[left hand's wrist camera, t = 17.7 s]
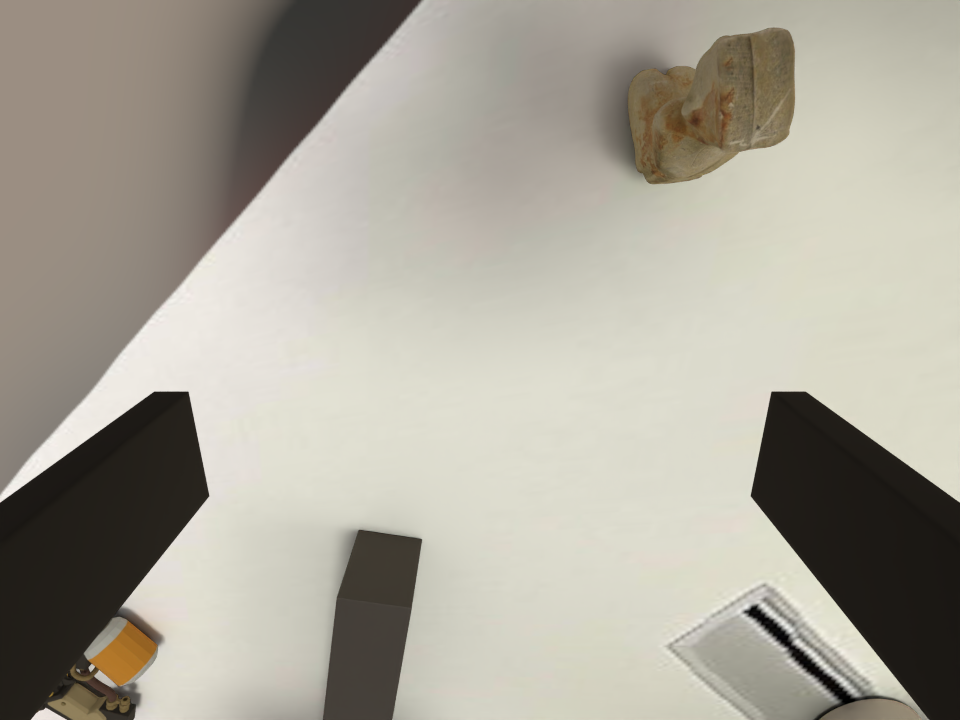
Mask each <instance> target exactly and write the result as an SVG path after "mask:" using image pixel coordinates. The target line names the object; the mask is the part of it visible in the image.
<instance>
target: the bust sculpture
mask: <svg viewBox="0 0 960 720" xmlns="http://www.w3.org/2000/svg"><path fill="white" fill-rule="evenodd" d="M819 720H922V719H921V718H920V717H919V715H918V714H917V713H916V712H915V711H914V710H913V709H912V708H910V707H909V706H907V705H905V704H903V703H900V702H897V701H893V700H887V699H867V700H860V701H856V702H852V703H849V704H846V705H843V706H841V707H838V708H836V709H834V710H832V711H831V712H829V713H827V714H826V715H824V716H823V717H822V718H821V719H819Z"/></svg>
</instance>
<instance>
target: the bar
mask: <svg viewBox="0 0 960 720" xmlns="http://www.w3.org/2000/svg"><path fill="white" fill-rule="evenodd" d="M421 543H422V539H416V538H409V537H403V536H396V535H389V534H382V533H375V532H369V531H362V530H359V531H358V534H357V538H356V541H355V544H354V547H353V550H352V553H351V556H350V559H349V562H348V565H347V568H346V571H345V574H344V577H343V581H342V584H341V587H340V590H339V593H338V596H337V601H336V610H335V619H334V628H333V637H332V645H331V654H330V663H329V672H328V681H327V689H326V698H325V707H324V716H323V720H392V717H393V712H394V706H395V700H396V694H397V689H398V683H399V677H400V672H401V666H402V660H403V654H404V649H405V643H406V637H407V632H408V626H409V620H410V614H411V609H412V602H413V596H414V589H415V582H416V576H417V569H418V563H419V556H420V550H421Z"/></svg>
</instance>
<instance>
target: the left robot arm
mask: <svg viewBox="0 0 960 720" xmlns="http://www.w3.org/2000/svg"><path fill="white" fill-rule="evenodd" d="M208 497H209V492H208V487H207V482H206V477H205V472H204V467H203V462H202V457H201V452H200V447H199V442H198V437H197V432H196V427H195V422H194V417H193V412H192V407H191V402H190V397H189V392H153V393H152V394H150V395H149V396H148V397H146V398H145V399H144V400H142V401H141V402H139V403H138V404H137V405H135V406H134V407H132V408H131V409H130V410H128V411H127V412H125V413H124V414H123V415H121V416H120V417H119V418H117V419H116V420H114V421H113V422H112V423H110V424H109V425H107V426H106V427H105V428H103V429H102V430H100V431H99V432H98V433H96V434H95V435H94V436H92V437H91V438H89V439H88V440H87V441H85V442H84V443H82V444H81V445H80V446H78V447H77V448H75V449H74V450H73V451H71V452H70V453H69V454H67V455H66V456H64V457H63V458H62V459H60V460H59V461H57V462H56V463H55V464H53V465H52V466H51V467H49V468H48V469H46V470H45V471H44V472H42V473H41V474H39V475H38V476H37V477H35V478H34V479H32V480H31V481H30V482H28V483H27V484H26V485H24V486H23V487H21V488H20V489H19V490H17V491H16V492H14V493H13V494H12V495H10V496H9V497H7V498H6V499H5V500H3V501H2V502H1V503H0V720H31V719H32V717H33V716H34V715H35V714H36V712H37V711H38V710H39V709H40V707H41V706H42V705H43V704H44V702H45V701H46V700H47V699H48V697H49V696H50V695H51V694H52V692H53V691H54V690H55V689H56V687H57V686H58V685H59V684H60V682H61V681H62V680H63V679H64V677H65V676H66V675H67V674H68V672H69V671H70V670H71V669H72V667H73V666H74V665H75V664H76V662H77V661H78V660H79V659H80V657H81V656H82V655H83V654H84V652H85V651H86V650H87V649H88V647H89V646H90V645H91V644H92V642H93V641H94V640H95V639H96V637H97V636H98V635H99V634H100V632H101V631H102V630H103V629H104V627H105V626H106V625H107V624H108V622H109V621H110V620H111V619H112V617H113V616H114V615H115V614H116V612H117V611H118V610H119V609H120V607H121V606H122V605H123V604H124V602H125V601H126V600H127V599H128V597H129V596H130V595H131V594H132V592H133V591H134V590H135V589H136V587H137V586H138V585H139V583H140V582H141V581H142V580H143V578H144V577H145V576H146V575H147V573H148V572H149V571H150V570H151V568H152V567H153V566H154V565H155V563H156V562H157V561H158V560H159V558H160V557H161V556H162V555H163V553H164V552H165V551H166V550H167V548H168V547H169V546H170V545H171V543H172V542H173V541H174V540H175V538H176V537H177V536H178V535H179V533H180V532H181V531H182V530H183V528H184V527H185V526H186V525H187V523H188V522H189V521H190V520H191V518H192V517H193V516H194V515H195V513H196V512H197V511H198V510H199V508H200V507H201V506H202V505H203V503H204V502H205V501H206V500H207V498H208ZM751 497H752V498H753V500H754V501H755V502H756V503H757V505H758V506H759V507H760V508H761V510H762V511H763V512H764V513H765V515H766V516H767V517H768V518H769V520H770V521H771V522H772V523H773V525H774V526H775V527H776V528H777V530H778V531H779V532H780V533H781V535H782V536H783V537H784V538H785V540H786V541H787V542H788V543H789V545H790V546H791V547H792V548H793V550H794V551H795V552H796V553H797V555H798V556H799V557H800V558H801V560H802V561H803V562H804V563H805V565H806V566H807V567H808V568H809V570H810V571H811V572H812V573H813V575H814V576H815V577H816V578H817V580H818V581H819V582H820V584H821V585H822V586H823V587H824V589H825V590H826V591H827V592H828V594H829V595H830V596H831V597H832V599H833V600H834V601H835V602H836V604H837V605H838V606H839V607H840V609H841V610H842V611H843V612H844V614H845V615H846V616H847V617H848V619H849V620H850V621H851V622H852V624H853V625H854V626H855V627H856V629H857V630H858V631H859V632H860V634H861V635H862V636H863V637H864V639H865V640H866V641H867V642H868V644H869V645H870V646H871V647H872V649H873V650H874V651H875V652H876V654H877V655H878V656H879V657H880V659H881V660H882V661H883V662H884V664H885V665H886V666H887V667H888V669H889V670H890V671H891V672H892V674H893V675H894V676H895V677H896V679H897V680H898V681H899V682H900V684H901V685H902V686H903V687H904V689H905V690H906V691H907V692H908V694H909V695H910V696H911V697H912V699H913V700H914V701H915V702H916V704H917V705H918V706H919V707H920V709H921V710H922V711H923V712H924V714H925V715H926V716H927V717H928V719H929V720H960V503H959V502H958V501H957V500H955V499H954V498H953V497H951V496H950V495H948V494H947V493H946V492H944V491H943V490H941V489H940V488H939V487H937V486H936V485H934V484H933V483H932V482H930V481H929V480H928V479H926V478H925V477H923V476H922V475H921V474H919V473H918V472H916V471H915V470H914V469H912V468H911V467H909V466H908V465H907V464H905V463H904V462H903V461H901V460H900V459H898V458H897V457H896V456H894V455H893V454H891V453H890V452H889V451H887V450H886V449H885V448H883V447H882V446H880V445H879V444H878V443H876V442H875V441H873V440H872V439H871V438H869V437H868V436H866V435H865V434H864V433H862V432H861V431H860V430H858V429H857V428H855V427H854V426H853V425H851V424H850V423H848V422H847V421H846V420H844V419H843V418H841V417H840V416H839V415H837V414H836V413H835V412H833V411H832V410H830V409H829V408H828V407H826V406H825V405H823V404H822V403H821V402H819V401H818V400H816V399H815V398H814V397H812V396H811V395H810V394H808V393H807V392H771V397H770V402H769V407H768V412H767V417H766V422H765V427H764V432H763V437H762V442H761V447H760V452H759V457H758V462H757V467H756V472H755V477H754V482H753V487H752V492H751Z"/></svg>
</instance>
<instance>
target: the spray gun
mask: <svg viewBox="0 0 960 720" xmlns="http://www.w3.org/2000/svg"><path fill="white" fill-rule="evenodd" d="M157 653H158V645H157V644H155V643H154V642H153V641H152V640H151V639H149V638H148V637H147V636H146V635H145V634H143V633H142V632H141V631H140V630H139V629H137V628H136V627H135V626H134V625H133V624H131V623H130V622H129V621H128V620H126V619H124V618H122V617H115V618H112V619H111V620H110V621H109V622H108V624H107V625H106V626H105V627H104V629H103V630H102V631H101V632H100V634H99V635H98V636H97V637H96V639H95V640H94V641H93V642H92V644H91V645H90V646H89V647H88V649H87V650H86V651H85V652H84V654H83V655H82V656H81V657H80V659H79V660H78V661H77V662H76V664H75V665H74V666H73V667H72V669H71V670H70V673H71V675H72V676H73V678H71V677H68V674H67V675H66V676H65V677H64V679H63V680H62V681H61V682H60V684H59V685H58V686H57V687H56V689H55V690H54V691H53V692H52V694H51V695H50V696H49V697H48V699H47V700H46V701H45V702H44V704H43V705H42V706H41V707H40V709H39V710H38V711H40V710H44V709H45V708H48V709H49V710H51V711H53V712H55V713H56V714H58V715H60V716H61V717H63V718H65V719H67V720H133V719H134V718H135V709H136V705H135V704H131V703H130V698H129V697H128V696H125V697H123V698H122V699H118V694H116V693H115V691H114V690H113V689H112V688H111V687H109V686H107V685H105V684H104V683H102V682H101V681H99V680H98V679H96V678H95V677H94V675H95V674H96V673H97V672H98V671H99V670H100V671H101V672H103V673H104V674H105V675H106V676H107V677H108V678H110V679H111V680H112V681H113V682H114V683H116V684H117V685H118V686H124V685H127V684H130V683H133V682H134V681H136V680H137V679H138V678H139V677H140V676H142V675H143V674H144V673H145V671H146V670H147V669H148V668H149V667H150V666H151V665H152V664H153V662H154V661H155V659H156V657H157ZM91 664H93V665H94V666H95V668H94V669H93V671H92V672H91V673H90V671H89V668H88V667H89V666H90V665H91ZM76 668H78V669H80V673H81V674H80V673H78V672H77V671H76ZM76 679H77V680H80V681H86V682H87V683H88V684H89V685H90V686H92V687H93V688H95V689H96V690H98V691H99V692H101V693H103V694H105V695H106V696H104V697H98V696H96V695H95V694H93V693H92V692H91V691H89V690H88V689H86V688H85V687H83V686H82V685H80V684H78V683H75V682H76ZM38 711H37V712H38ZM37 712H36V713H37Z"/></svg>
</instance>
